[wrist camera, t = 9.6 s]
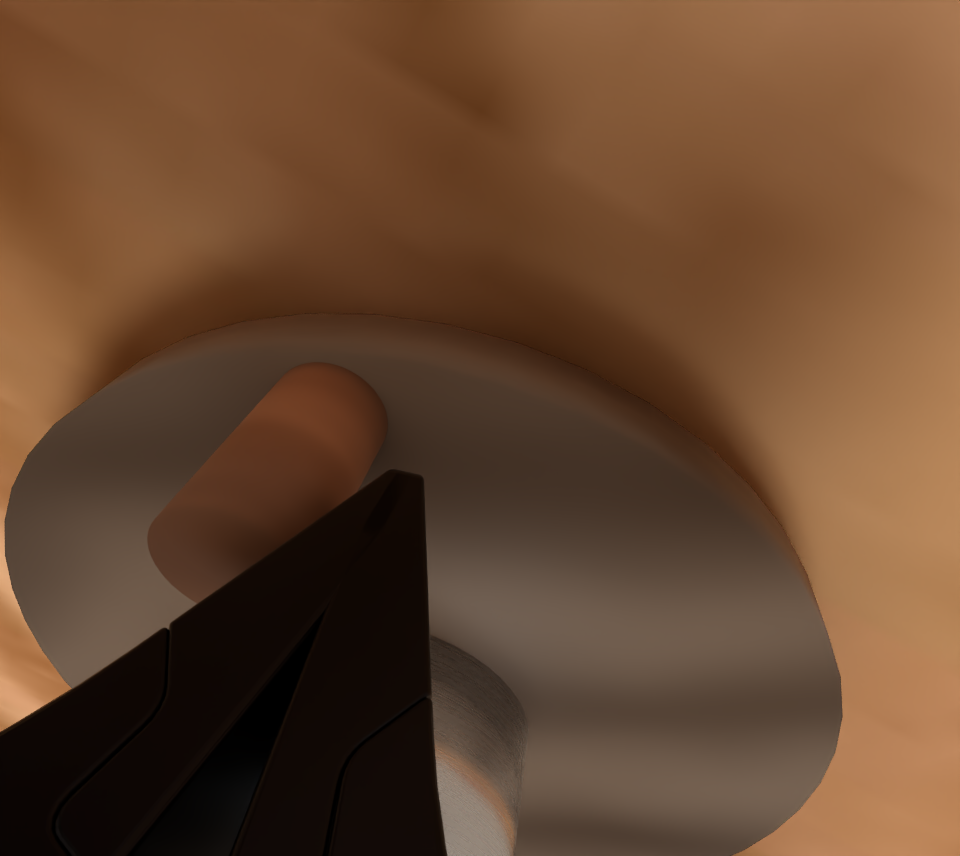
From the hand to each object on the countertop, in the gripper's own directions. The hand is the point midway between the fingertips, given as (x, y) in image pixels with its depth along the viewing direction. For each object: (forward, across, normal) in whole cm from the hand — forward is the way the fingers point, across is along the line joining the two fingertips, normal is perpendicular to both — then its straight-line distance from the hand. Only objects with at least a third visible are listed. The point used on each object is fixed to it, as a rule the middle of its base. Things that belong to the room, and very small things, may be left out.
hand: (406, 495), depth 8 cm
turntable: (+3, 0, +9) cm, 10 cm away
